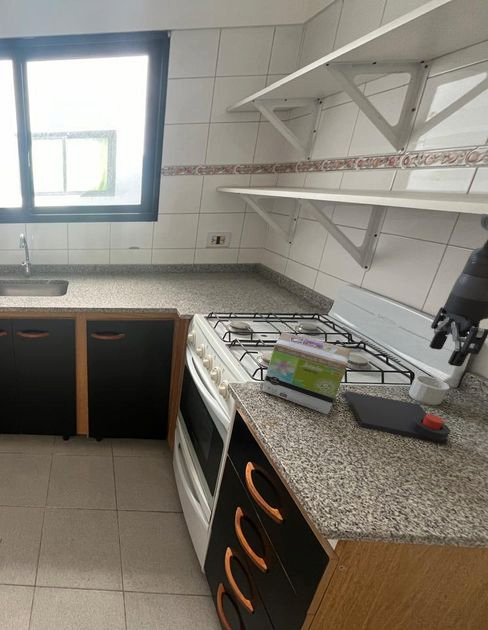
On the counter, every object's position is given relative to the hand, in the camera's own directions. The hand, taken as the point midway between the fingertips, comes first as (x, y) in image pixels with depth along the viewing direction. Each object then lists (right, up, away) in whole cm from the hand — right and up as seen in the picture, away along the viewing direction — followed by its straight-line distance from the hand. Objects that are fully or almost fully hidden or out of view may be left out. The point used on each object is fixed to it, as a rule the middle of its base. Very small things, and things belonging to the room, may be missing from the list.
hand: (444, 356), depth 84 cm
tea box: (-31, -11, +7) cm, 34 cm away
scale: (-15, -14, -1) cm, 20 cm away
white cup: (0, -11, +5) cm, 13 cm away
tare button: (-12, -14, -8) cm, 20 cm away
